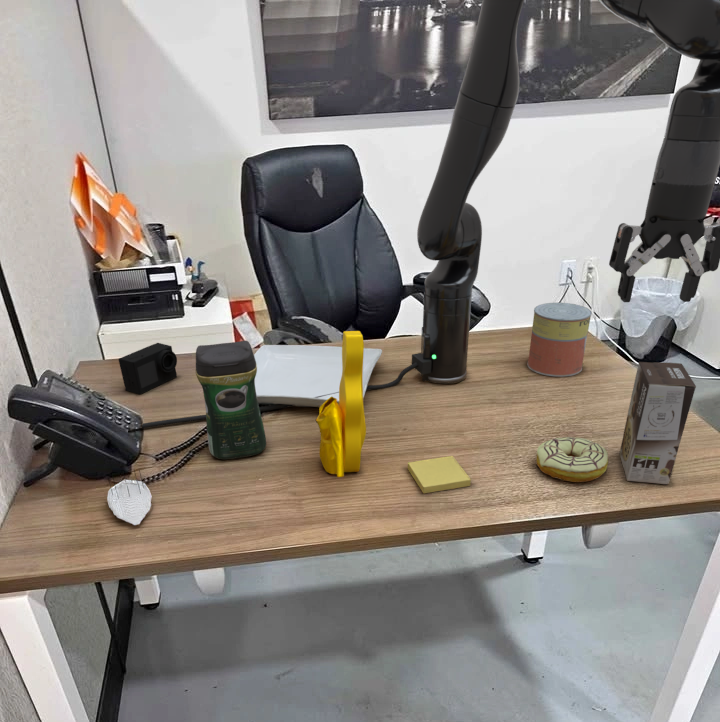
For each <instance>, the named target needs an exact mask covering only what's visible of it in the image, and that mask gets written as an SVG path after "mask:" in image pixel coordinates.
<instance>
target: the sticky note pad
mask: <svg viewBox="0 0 720 722" xmlns="http://www.w3.org/2000/svg"><path fill="white" fill-rule="evenodd" d="M407 470H408V472H409V474H410V475H411V476H412V478H413V480H414V481H415V483H416V484H417V486H418V488H419V489H420V490H421V492H422V493H423V494H429V493H435V492H441V491H442V492H443V491H447V490H453V489H459V488H466V487H470V486H471V483H472V480H471V478H470V476H469V475H468V474H467V473H466V471H465V470H464V469H463V468H462V466H461V464H459V462H458V461H457V459H456V458H455V457H454V455H449V456H448V455H447V456H442V457H435V458H429V459H428V458H427V459H422V460H416V461H415V460H414V461H409V462H407Z"/></svg>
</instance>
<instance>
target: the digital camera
mask: <svg viewBox="0 0 720 722" xmlns="http://www.w3.org/2000/svg"><path fill="white" fill-rule="evenodd" d="M177 363H178V357H177V354H176V353H175V352H174V351H173V347H172V345H169V344H165V343H161V342H155V343H153V344H150V345H147V346H146V347H143V348H141V349H138V350H136V351H134V352H131V353H128V354H127V355H124V356H122V357H119V358H118V364H119V368H120V373H121V376H122V381H123V385H124V389H125V391H127V392H130V393H133V394H137V395H142V394H144V393H146V392H149V391H150V390H153V389H155V388H157V387H159V386H161V385H163V384H165V383H168V382H169V381H171V380H173V379H176V378H177V377H178V374H177V369H176V367H177Z"/></svg>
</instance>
